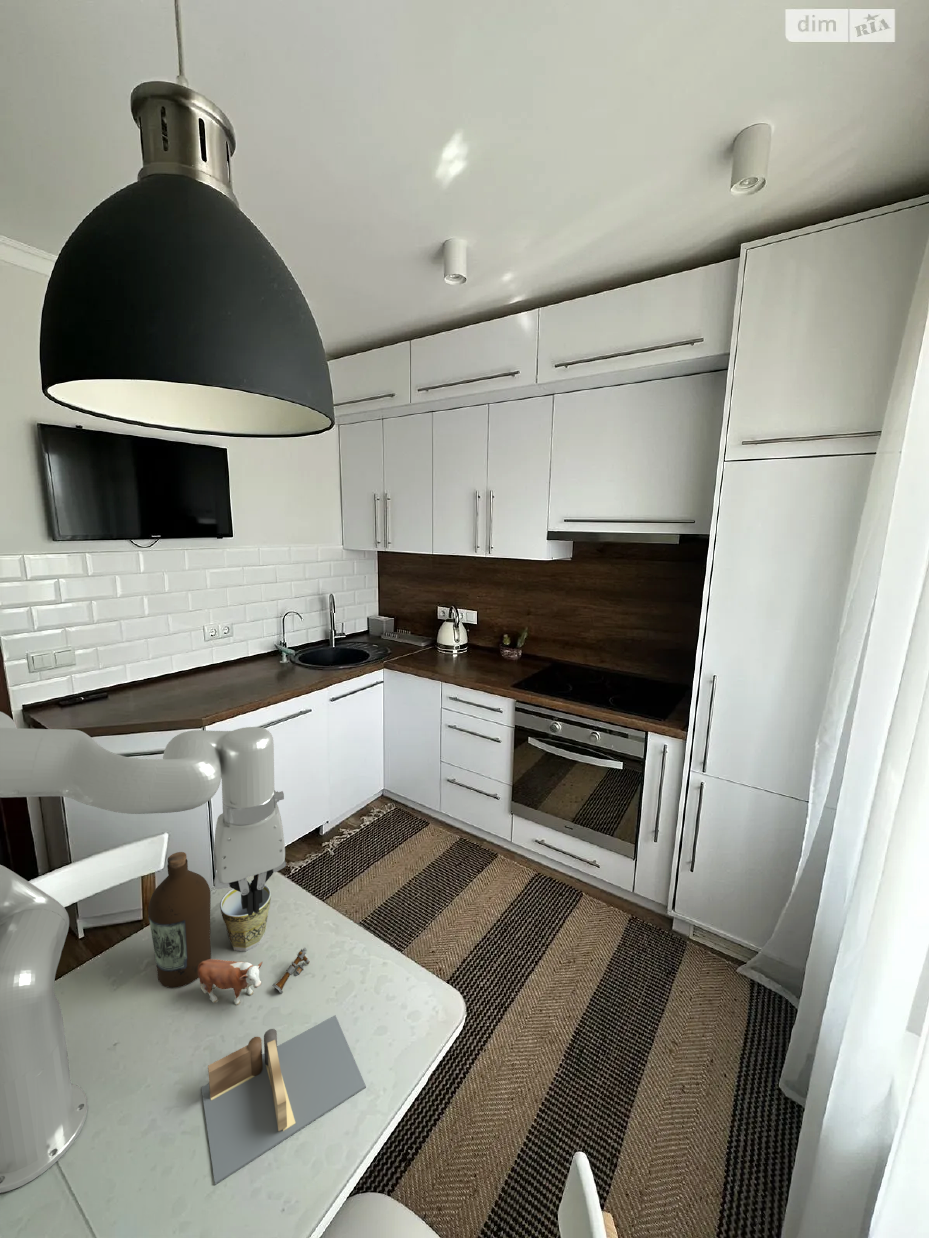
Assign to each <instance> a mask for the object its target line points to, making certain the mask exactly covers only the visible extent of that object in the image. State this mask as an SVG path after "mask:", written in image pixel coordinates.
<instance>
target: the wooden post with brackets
mask: <svg viewBox="0 0 929 1238" xmlns="http://www.w3.org/2000/svg"><path fill="white" fill-rule="evenodd" d="M307 950H308V948H307V947H303V948H301V949H300V950H299V952H297V953H298V954H296V955H297V956H296V957H295V959H294V960H293V961H291V964H289V966H288V968H287V969H286V972H284V974H283V976H282V977H281V978H280V980H278V981H277V982H276V983H273V984H272V987H273V988H274V989H275V990H278V991H279V993H280V994H282V993H284V992H283V988H284V987H285V985H286V984H287V981H288V979H289V978H290V976H292V974H294V977H297V976H298V975H301V973H302V971H304V970H305V969H304V967H305V964H307V965H309V964H310V959H309V958H308V957H307V956H306V954H307ZM299 963H301V964H299ZM294 971H295V973H294Z"/></svg>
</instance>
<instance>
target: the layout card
mask: <svg viewBox="0 0 929 1238" xmlns="http://www.w3.org/2000/svg"><path fill="white" fill-rule="evenodd" d="M344 1034H345V1033H344V1032H343V1030H342V1028H341V1025H340V1023H339V1020H338V1017H337V1016H336V1014H335V1015H332V1016H331V1017H329V1018H327V1019H325V1020H324V1021H321V1022H320V1023H318V1024H316V1025H314V1026H312V1027H311V1028H309V1029H306V1030H305V1031H303V1032H300V1033H299V1034H298V1035H296V1036H294V1037H292V1038H290V1039H289V1040H286V1041H284V1042H283V1043H281V1044H279V1045H277V1052H278V1058H279V1064H280V1069H281V1075H282V1080H283V1086H284V1091H285V1097H286V1110H287V1127H286V1128H284V1129H282V1130H280V1131H278V1125H277V1118H276V1112H275V1106H274V1099H273V1093H272V1087H271V1081H270V1074H269V1068H268V1066H267V1065H266V1064H265V1054H264V1053H262V1063H263V1069H262V1071H261V1073H260V1074H259V1075H257V1076H250V1077H248V1078H246V1079H245V1080H243V1081H241V1082H239V1083H237V1084H236V1085H234V1086H232V1087H230V1088H228V1089H227V1090H225V1091H223V1092H221V1093H219V1094H218V1095H216V1096H214V1097H212V1098H211V1097H210V1089H209V1082H208V1083H206V1084H204V1085H203V1086H201V1087H200V1088H201V1096H202V1102H203V1108H204V1115H205V1122H206V1124H205V1125H206V1130H207V1131H206V1132H207V1138H208V1145H209V1151H210V1158H211V1159H210V1160H211V1166H212V1173H213V1180H214V1186H216V1185H217V1184H219V1183H221V1182H222V1181H225V1180H226V1179H227V1178H228V1177H230V1176H231V1175H233V1174H235V1173H236V1172H238V1171H239V1170H240V1169H242V1168H244V1167H245V1166H247V1165H248V1164H250V1163H252V1162H253V1161H255V1160H256V1159H258V1158H259V1157H261V1156H262V1155H264V1154H265V1153H267V1152H268V1151H270V1150H272V1149H273V1148H275V1147H276V1146H277V1145H279V1144H281V1143H282V1142H284V1141H285V1140H288V1139H289V1138H290V1137H292V1136H293V1135H295V1134H297V1133H298V1132H299V1131H301V1130H302V1129H304V1128H305V1127H307V1126H309V1125H310V1124H312V1123H313V1122H315V1121H317V1120H318V1119H320V1118H321V1117H323V1116H324V1115H325V1114H327V1113H329V1112H331V1111H332V1110H333V1109H335V1108H336V1107H338V1106H340V1105H341V1104H343V1103H344V1102H346V1101H347V1100H349V1099H351V1098H352V1097H354V1096H355V1095H357V1094H358V1093H359V1092H361V1091H363V1090H365V1089H366V1088H367V1086H366V1084H365V1081H364V1078H363V1075H362V1073H361V1071H360V1069H359V1067H358V1064H357V1062H356V1059H355V1058H354V1056H353V1052H352V1050H351V1048H350V1045H349V1043H348V1041H347V1039H346V1036H345V1035H344Z"/></svg>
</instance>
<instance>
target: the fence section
mask: <svg viewBox="0 0 929 1238" xmlns="http://www.w3.org/2000/svg"><path fill="white" fill-rule="evenodd" d="M262 1041H263V1040H262V1038H261V1037H260V1036H253V1037H252V1038H251V1039H250V1040H249V1041H248V1044H247V1045H245V1046H243V1047H242V1048H238V1049H237V1050H235V1051H234V1052H232V1053H229V1054H228V1055H226V1056H224V1057H222V1058H220V1059H217V1060H216V1061H214V1062H212V1063H210V1064H209V1065H207V1071H208V1074H207V1075H208V1083H209V1089H210V1097H211V1098H212V1097H214V1096H216V1095H218V1094H219V1093H221V1092H223V1091H225V1090H227V1089H228V1088H230V1087H232V1086H234V1085H236V1084H237V1083H239V1082H241V1081H243V1080H245V1079H246V1078H248V1077H250V1076H257V1075H259V1074H260V1073H261V1071H262V1069H263V1063H262V1054H263V1045H262V1044H263V1042H262Z"/></svg>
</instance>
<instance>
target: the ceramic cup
mask: <svg viewBox="0 0 929 1238" xmlns="http://www.w3.org/2000/svg"><path fill="white" fill-rule="evenodd" d="M271 899H272V891H271V888H270V887H269V886H268V885H267V884H265V886H264V888H263V889H262V900H263V902H262V903H260V904H259V912H258V913H254V911H253V914H252V915H250V916H248V912H247V909H242V904H241V892H239V891H237V890H235V889H233V888H231V889H230V890H229V891H227V892H226V893H225V894H224V896H223V897H222V898H221V900H220V903H219V910H220V913H221V917H222V920H223V923H224V925H225V927H226V932H227V935H228V938H229V942H230V945H231V946H232V949H233V950H234V951H235V952H236V951H237V952H248V951H250V950H252V949H253V948H256V947H257V946H259V945H260V944H261V941H262V939H263V938H264V936H265V933H266V930H267V929H266V928H267V922H268V917H269V910H270V905H271V901H272V900H271Z"/></svg>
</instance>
